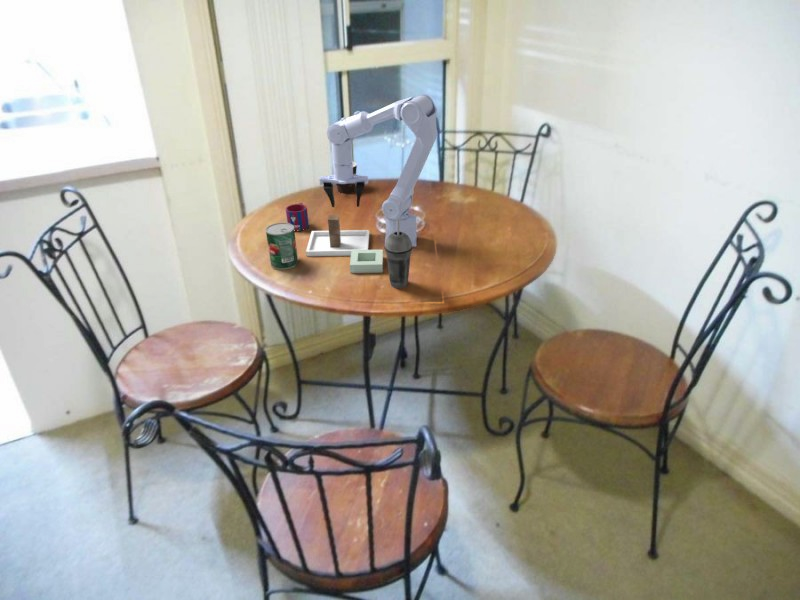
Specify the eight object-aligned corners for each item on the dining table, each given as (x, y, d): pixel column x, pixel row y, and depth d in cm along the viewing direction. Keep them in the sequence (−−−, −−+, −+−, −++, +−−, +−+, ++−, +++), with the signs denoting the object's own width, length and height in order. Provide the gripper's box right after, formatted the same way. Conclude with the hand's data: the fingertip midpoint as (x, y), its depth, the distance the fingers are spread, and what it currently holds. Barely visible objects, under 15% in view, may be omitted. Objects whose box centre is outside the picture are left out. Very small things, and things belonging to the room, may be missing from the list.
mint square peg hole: (383, 258, 165) (382, 249, 164) (382, 273, 158) (382, 264, 156) (352, 259, 165) (351, 250, 164) (350, 274, 158) (349, 264, 156)
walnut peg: (340, 242, 173) (338, 215, 168) (340, 247, 171) (338, 219, 166) (331, 242, 173) (328, 215, 168) (330, 247, 171) (327, 219, 166)
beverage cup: (411, 278, 155) (411, 210, 145) (413, 292, 149) (413, 222, 139) (385, 279, 155) (383, 211, 145) (385, 292, 149) (383, 223, 138)
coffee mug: (349, 184, 216) (347, 159, 211) (362, 191, 211) (361, 164, 206) (323, 192, 210) (321, 166, 205) (337, 199, 205) (335, 172, 199)
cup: (285, 230, 182) (282, 211, 179) (296, 218, 191) (293, 199, 187) (304, 232, 181) (302, 212, 178) (315, 219, 189) (313, 200, 186)
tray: (369, 235, 178) (369, 230, 177) (367, 256, 167) (367, 250, 165) (312, 236, 178) (311, 231, 177) (306, 257, 166) (305, 251, 165)
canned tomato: (264, 265, 163) (259, 230, 157) (284, 254, 169) (279, 220, 163) (285, 272, 159) (280, 236, 153) (304, 261, 165) (299, 226, 159)
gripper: (316, 167, 164) (320, 211, 172) (366, 166, 164) (368, 210, 172) (319, 159, 170) (323, 202, 178) (367, 159, 170) (369, 201, 178)
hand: (345, 205), depth 175 cm, fingers open, 7 cm apart
